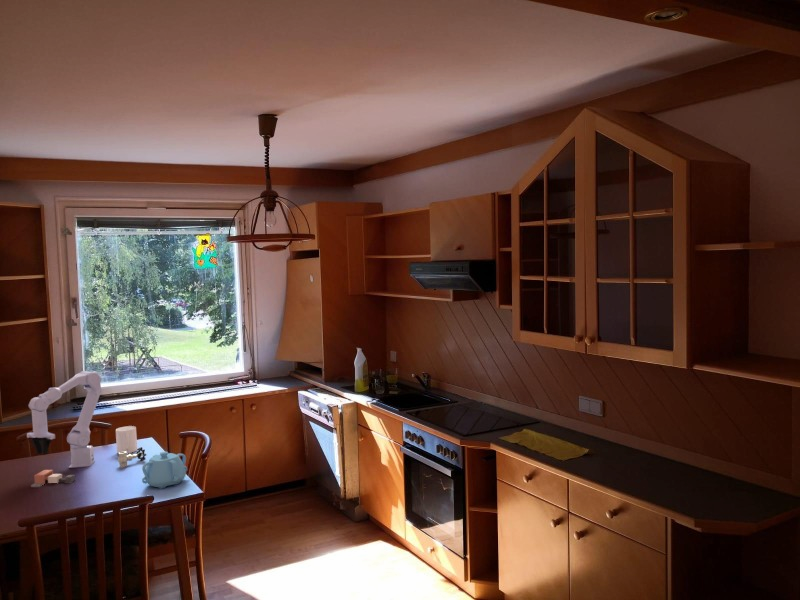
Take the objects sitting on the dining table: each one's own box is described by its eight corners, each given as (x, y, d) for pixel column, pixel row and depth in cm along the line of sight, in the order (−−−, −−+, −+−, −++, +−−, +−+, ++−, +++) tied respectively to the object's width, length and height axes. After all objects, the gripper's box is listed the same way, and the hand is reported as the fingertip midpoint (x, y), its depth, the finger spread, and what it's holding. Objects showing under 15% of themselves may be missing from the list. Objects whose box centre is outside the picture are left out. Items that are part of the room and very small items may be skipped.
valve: (123, 468, 304) (146, 461, 314) (122, 454, 304) (145, 447, 313) (115, 466, 308) (138, 459, 318) (114, 452, 307) (137, 446, 317)
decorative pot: (176, 490, 272) (174, 458, 271) (138, 490, 273) (136, 458, 272) (191, 477, 288) (190, 446, 287) (156, 477, 289) (154, 446, 288)
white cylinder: (133, 447, 338) (131, 425, 338) (142, 452, 330) (140, 429, 329) (114, 452, 332) (112, 429, 331) (123, 456, 323) (121, 433, 322)
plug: (75, 480, 290) (75, 473, 289) (70, 483, 286) (69, 476, 285) (53, 480, 290) (53, 473, 290) (48, 483, 287) (47, 476, 286)
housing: (57, 477, 295) (56, 467, 295) (39, 487, 282) (39, 477, 282) (48, 477, 295) (48, 467, 295) (30, 487, 283) (30, 477, 282)
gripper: (20, 425, 295) (22, 455, 296) (44, 427, 290) (47, 457, 291) (33, 421, 302) (35, 450, 303) (58, 423, 297) (60, 453, 298)
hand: (42, 454), depth 297 cm, fingers open, 3 cm apart
